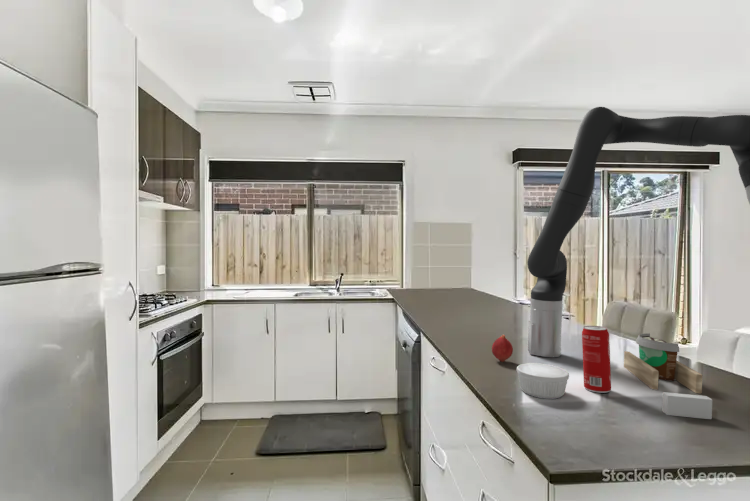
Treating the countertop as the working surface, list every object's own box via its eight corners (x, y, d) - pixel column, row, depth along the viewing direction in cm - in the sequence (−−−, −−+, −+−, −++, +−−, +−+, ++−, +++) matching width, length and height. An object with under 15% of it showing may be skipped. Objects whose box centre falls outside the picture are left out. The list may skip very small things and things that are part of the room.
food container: (625, 367, 116) (626, 332, 116) (647, 367, 116) (648, 333, 115) (653, 382, 104) (655, 343, 103) (678, 383, 103) (679, 344, 103)
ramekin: (506, 386, 98) (506, 365, 98) (541, 381, 103) (541, 360, 103) (541, 404, 88) (542, 380, 88) (579, 397, 92) (579, 374, 92)
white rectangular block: (666, 414, 84) (667, 395, 84) (662, 410, 86) (662, 392, 85) (711, 419, 82) (712, 399, 82) (705, 415, 84) (706, 396, 84)
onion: (490, 363, 117) (491, 335, 117) (492, 357, 122) (493, 331, 122) (511, 365, 115) (512, 337, 114) (513, 360, 120) (513, 333, 120)
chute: (652, 389, 98) (653, 370, 98) (623, 366, 116) (624, 351, 116) (701, 393, 96) (702, 374, 96) (664, 370, 114) (665, 354, 114)
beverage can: (614, 395, 94) (617, 330, 94) (584, 392, 95) (586, 328, 95) (605, 386, 100) (607, 325, 99) (577, 383, 101) (579, 323, 101)
